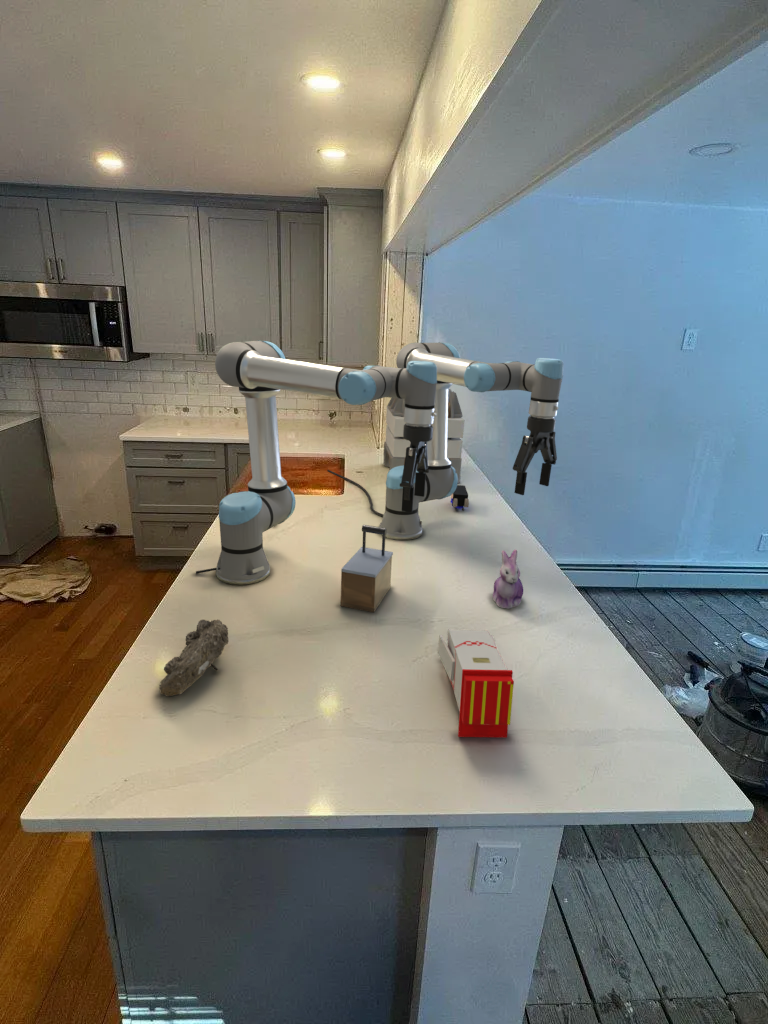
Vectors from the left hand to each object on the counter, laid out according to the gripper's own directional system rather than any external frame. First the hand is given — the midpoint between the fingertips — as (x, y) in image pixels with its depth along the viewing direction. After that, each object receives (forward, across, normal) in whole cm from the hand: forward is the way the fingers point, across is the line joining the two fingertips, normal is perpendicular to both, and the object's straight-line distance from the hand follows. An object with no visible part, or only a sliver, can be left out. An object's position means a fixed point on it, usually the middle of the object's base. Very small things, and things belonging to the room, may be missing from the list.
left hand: (413, 503), depth 151 cm
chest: (+26, -8, +10) cm, 29 cm away
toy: (+26, -39, -24) cm, 53 cm away
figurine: (+26, +4, -28) cm, 38 cm away
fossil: (+26, -52, +33) cm, 66 cm away
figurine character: (+26, +78, -1) cm, 82 cm away
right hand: (-1, +23, -30) cm, 38 cm away
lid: (+16, -7, +10) cm, 20 cm away
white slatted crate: (+26, +120, +25) cm, 125 cm away
